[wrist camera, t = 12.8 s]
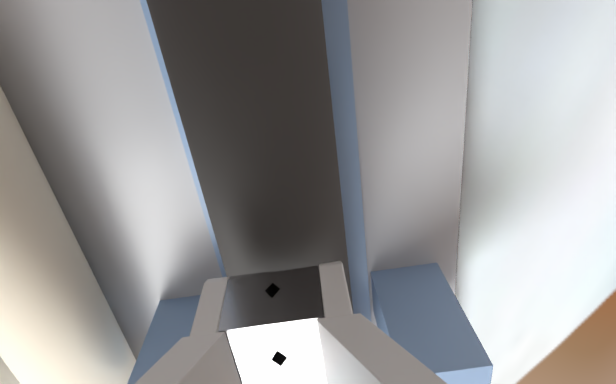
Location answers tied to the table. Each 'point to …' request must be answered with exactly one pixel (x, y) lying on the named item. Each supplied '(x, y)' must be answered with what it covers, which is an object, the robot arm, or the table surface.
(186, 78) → the dark gray rod
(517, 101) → the table surface
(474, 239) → the table surface
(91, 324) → the rod
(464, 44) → the rod display rack
